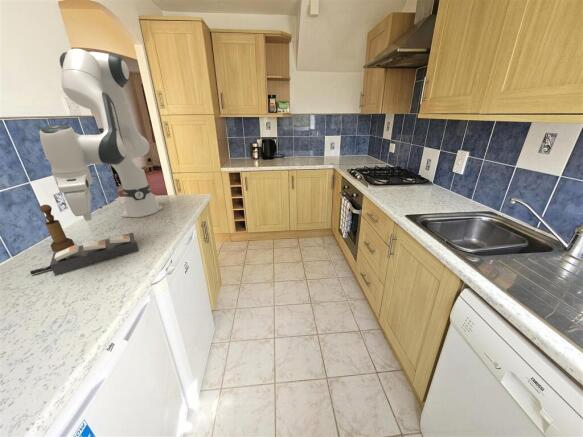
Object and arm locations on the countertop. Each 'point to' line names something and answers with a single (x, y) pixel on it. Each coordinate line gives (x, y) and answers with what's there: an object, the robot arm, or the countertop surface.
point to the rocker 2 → (119, 238)
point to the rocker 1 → (66, 252)
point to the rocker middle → (94, 245)
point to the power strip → (90, 256)
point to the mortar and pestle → (56, 231)
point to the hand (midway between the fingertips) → (88, 219)
